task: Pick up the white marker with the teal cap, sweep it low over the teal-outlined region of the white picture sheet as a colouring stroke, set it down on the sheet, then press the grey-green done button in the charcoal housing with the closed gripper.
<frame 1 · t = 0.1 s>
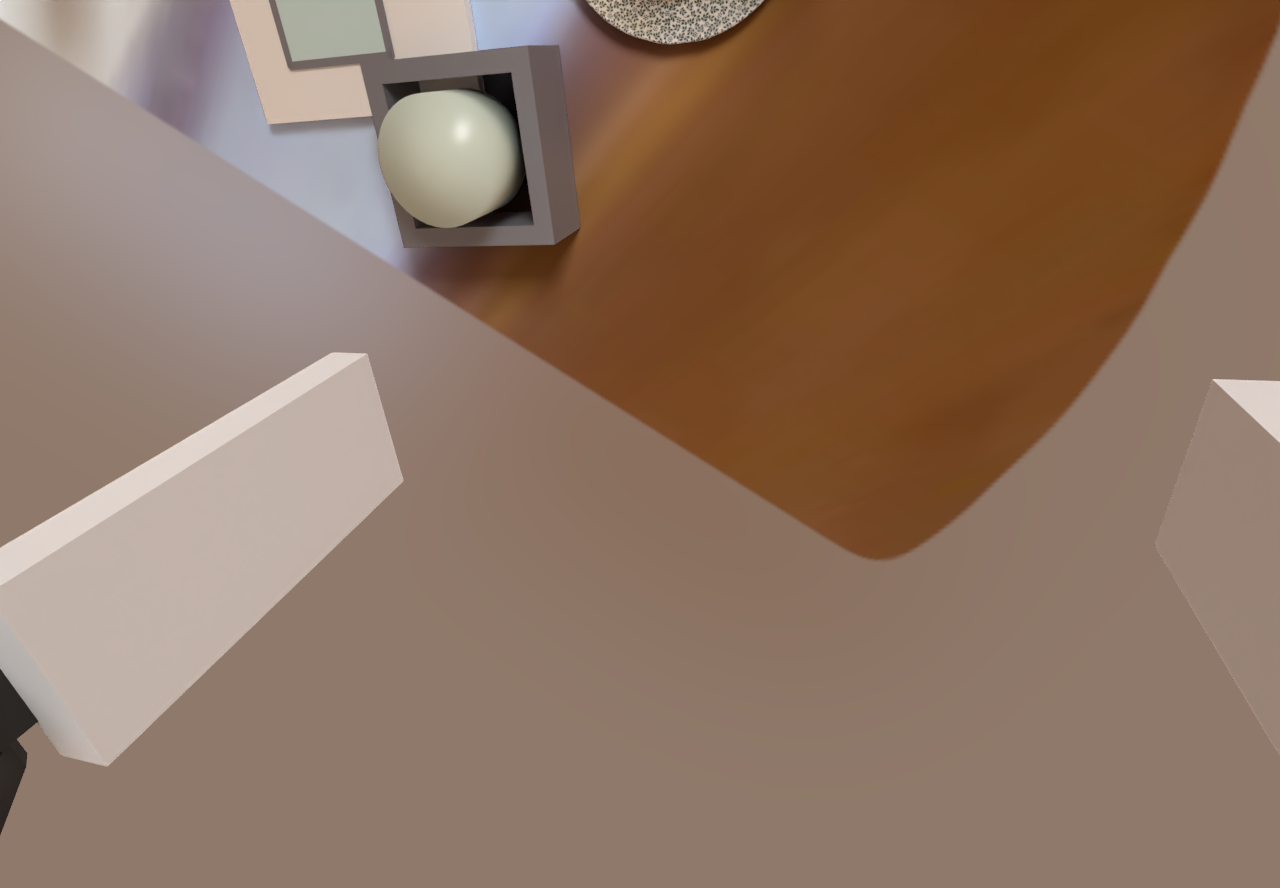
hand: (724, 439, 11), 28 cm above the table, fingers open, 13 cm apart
button housing: (494, 146, 38), on the table
done button: (454, 157, 35), point 5 cm above the table, slide at 0.0 cm
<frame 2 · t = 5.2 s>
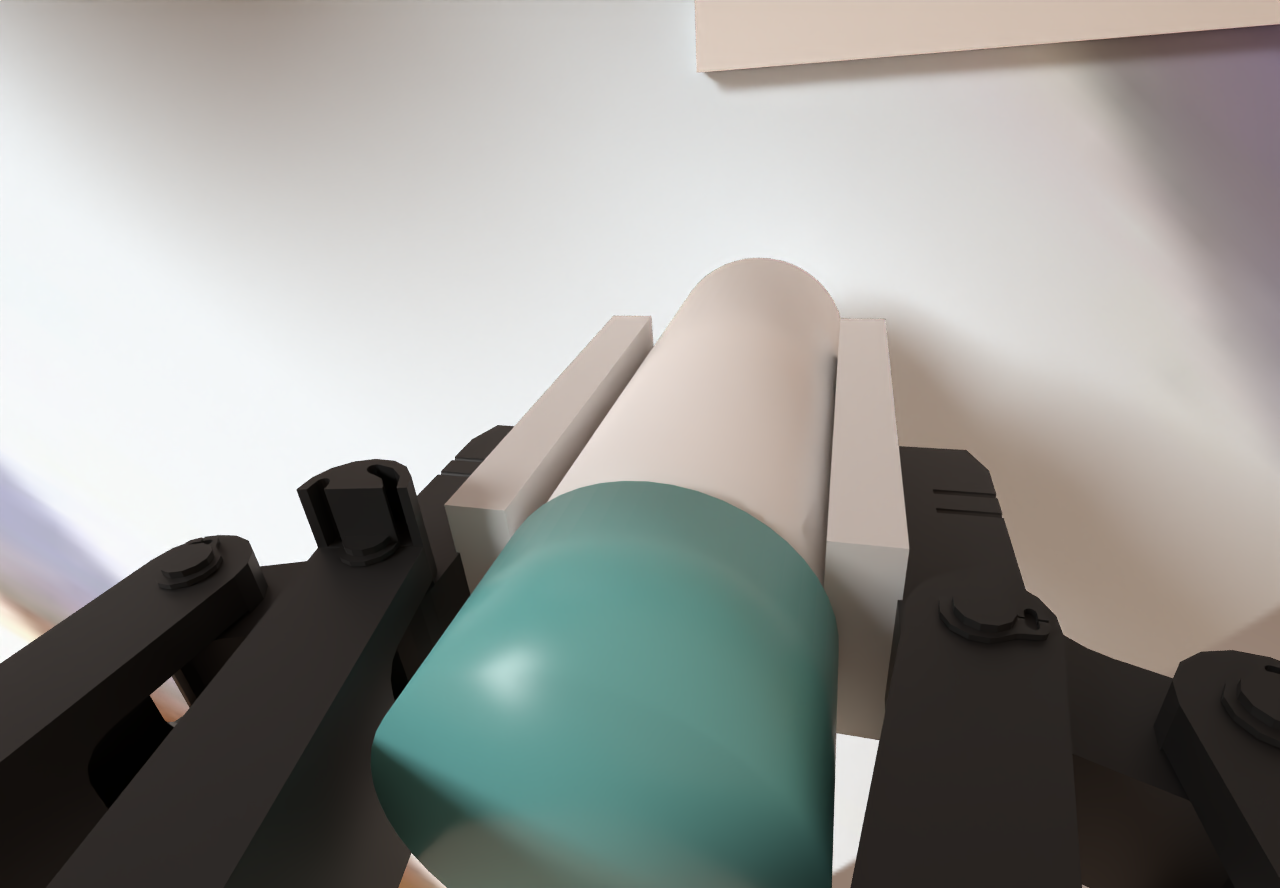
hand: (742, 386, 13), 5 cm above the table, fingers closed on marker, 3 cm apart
marker: (757, 340, 15), point 3 cm above the table, touching gripper
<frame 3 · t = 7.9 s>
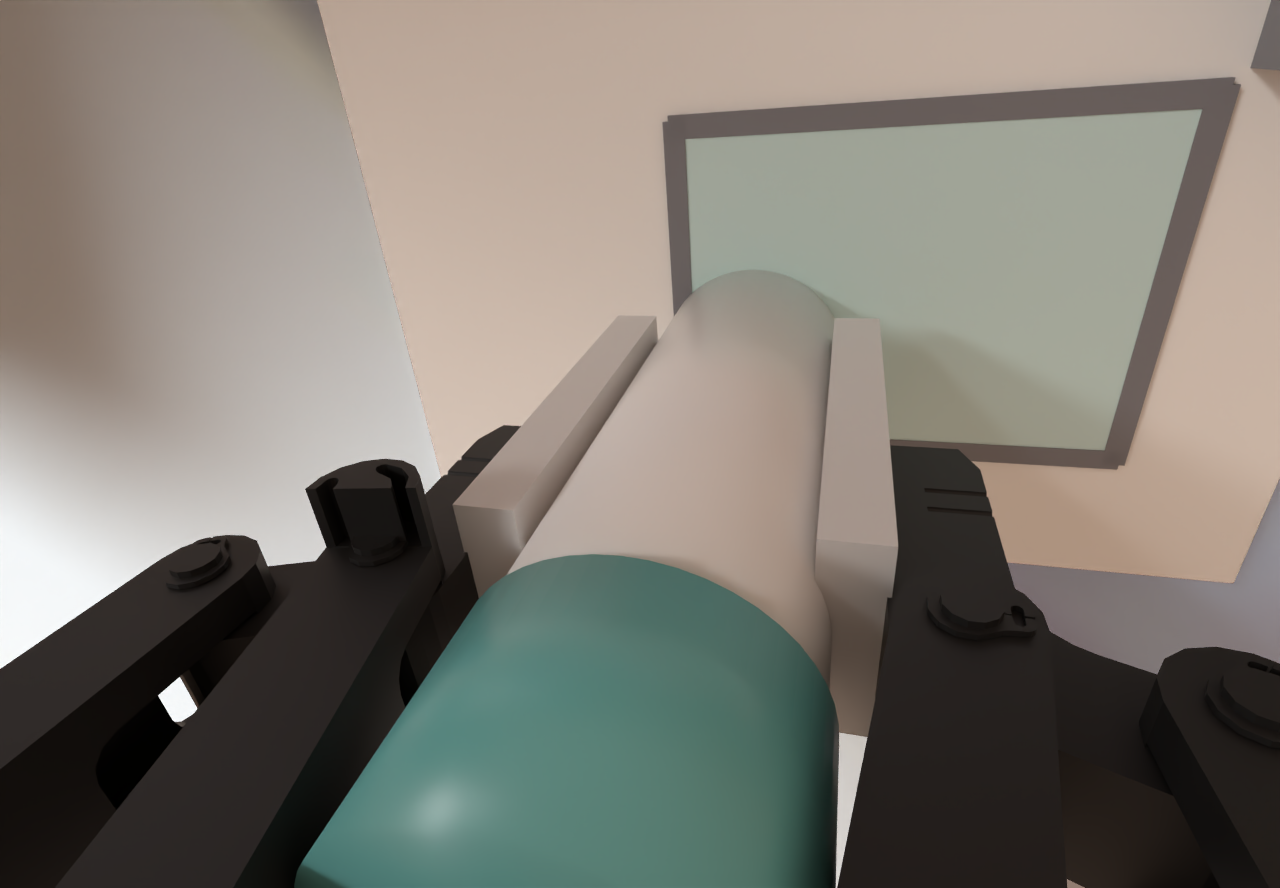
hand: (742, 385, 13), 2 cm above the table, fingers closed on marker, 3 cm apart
sheet: (796, 238, 14), on the table
marker: (752, 356, 14), point 1 cm above the table, touching gripper, sheet
when the fingers open (2 cm above the table, at t = 10.9 s): marker stays where it is, resting on sheet.
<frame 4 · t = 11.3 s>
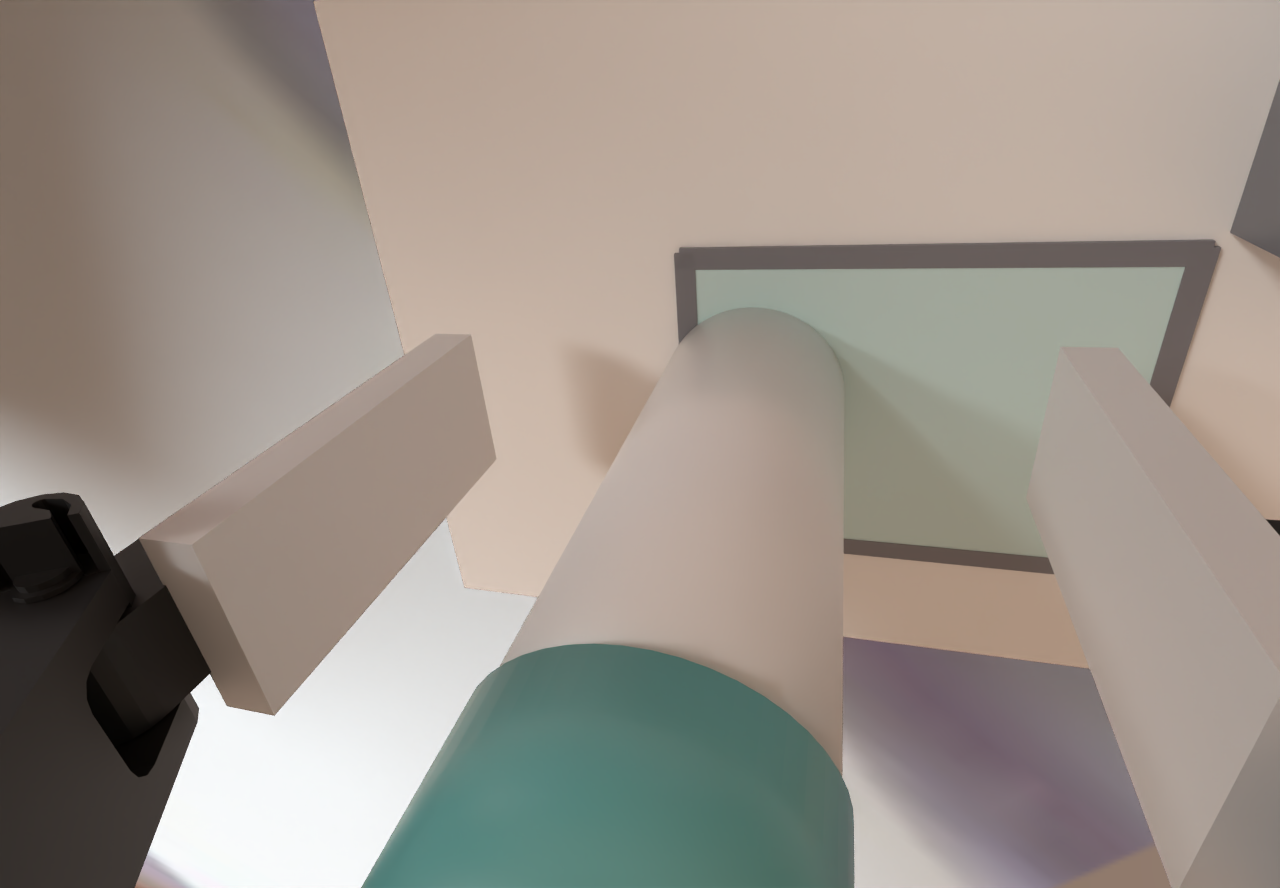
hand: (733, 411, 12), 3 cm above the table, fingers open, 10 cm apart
sheet: (801, 356, 14), on the table
marker: (752, 392, 14), point 1 cm above the table, touching sheet
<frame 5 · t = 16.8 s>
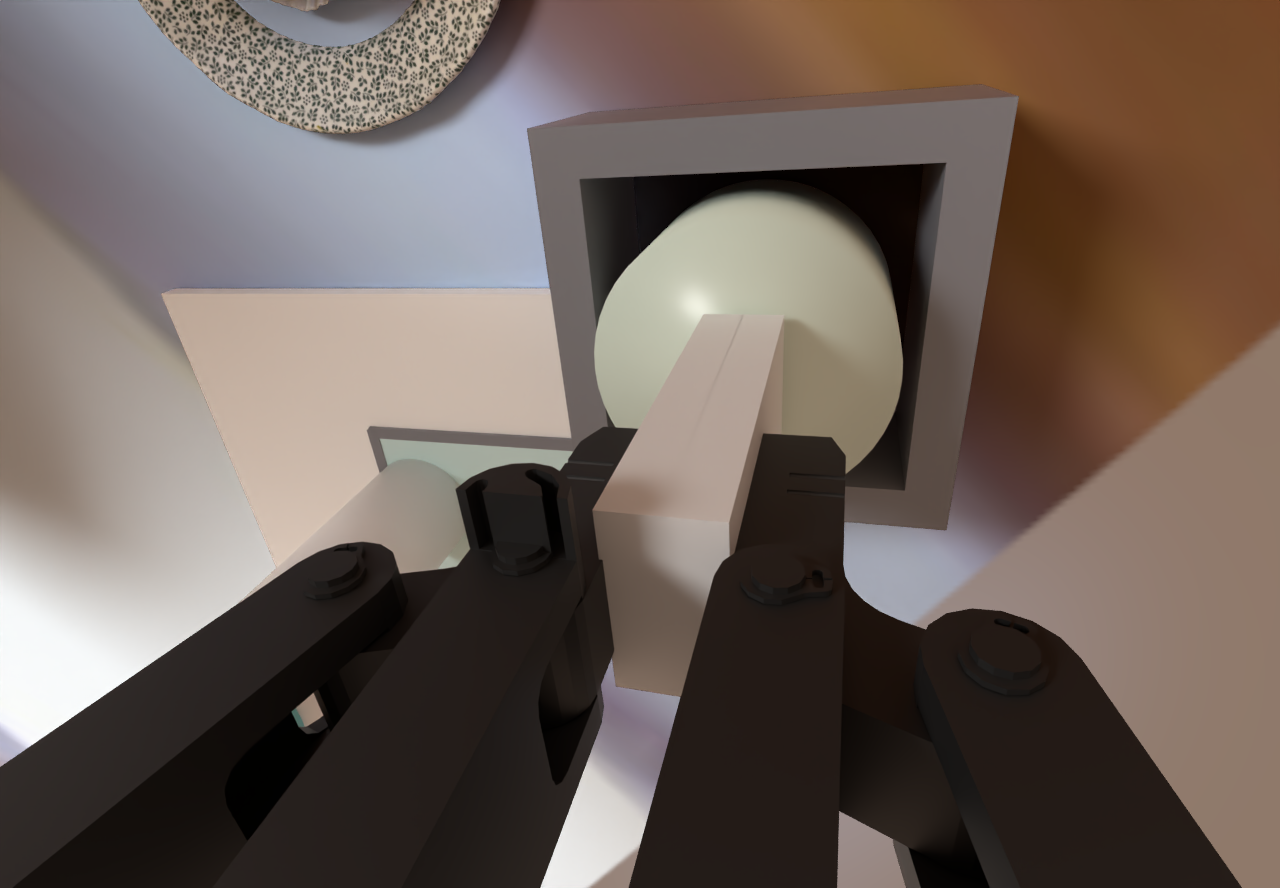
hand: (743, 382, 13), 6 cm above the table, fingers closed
sheet: (453, 481, 25), on the table
marker: (424, 502, 25), point 1 cm above the table, touching sheet
button housing: (769, 288, 18), on the table
done button: (752, 338, 15), point 4 cm above the table, slide at 0.8 cm, touching gripper
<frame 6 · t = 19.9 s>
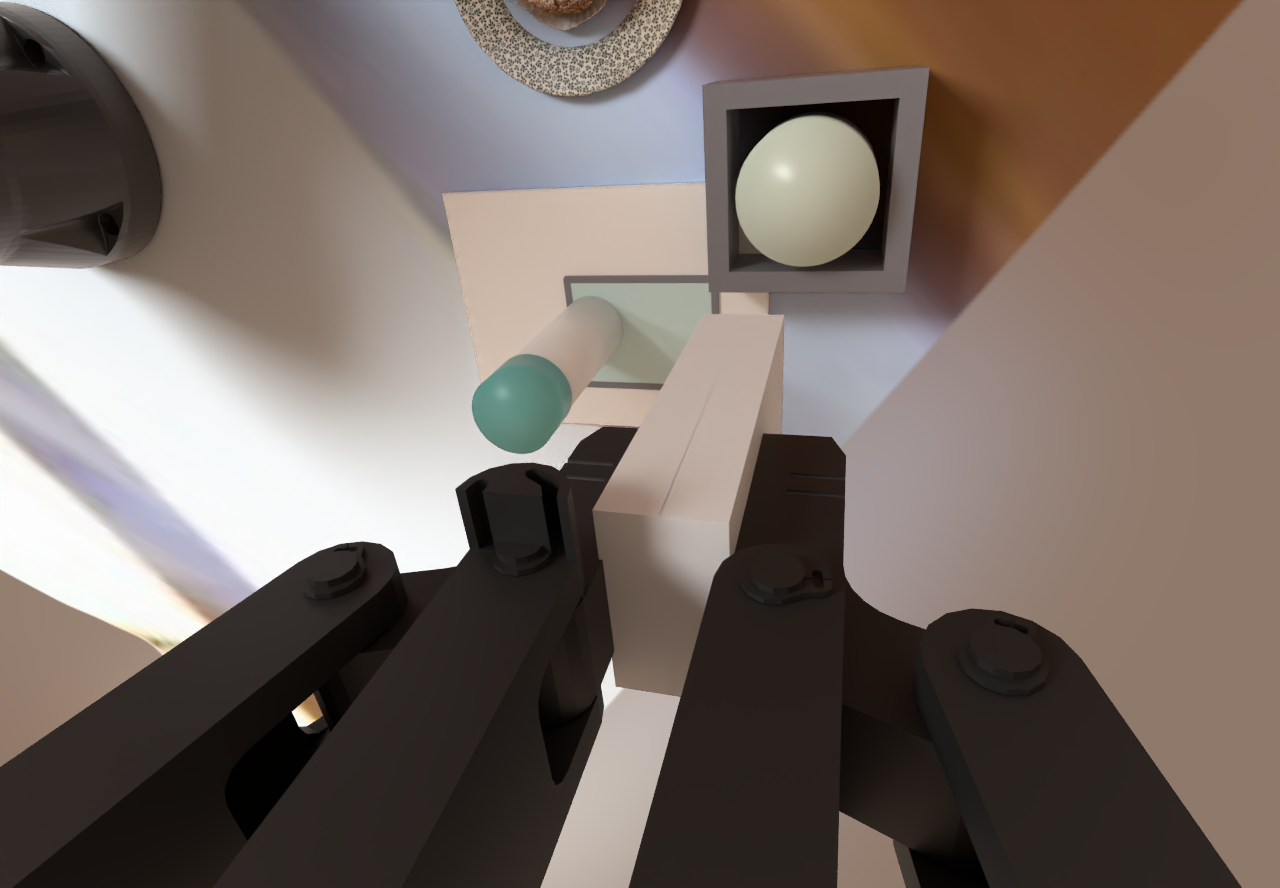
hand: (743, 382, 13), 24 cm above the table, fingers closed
sheet: (611, 313, 40), on the table
marker: (593, 326, 40), point 1 cm above the table, touching sheet
button housing: (811, 177, 34), on the table
done button: (808, 188, 31), point 3 cm above the table, slide at 1.5 cm
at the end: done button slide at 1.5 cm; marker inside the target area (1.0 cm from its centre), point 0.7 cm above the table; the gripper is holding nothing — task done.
